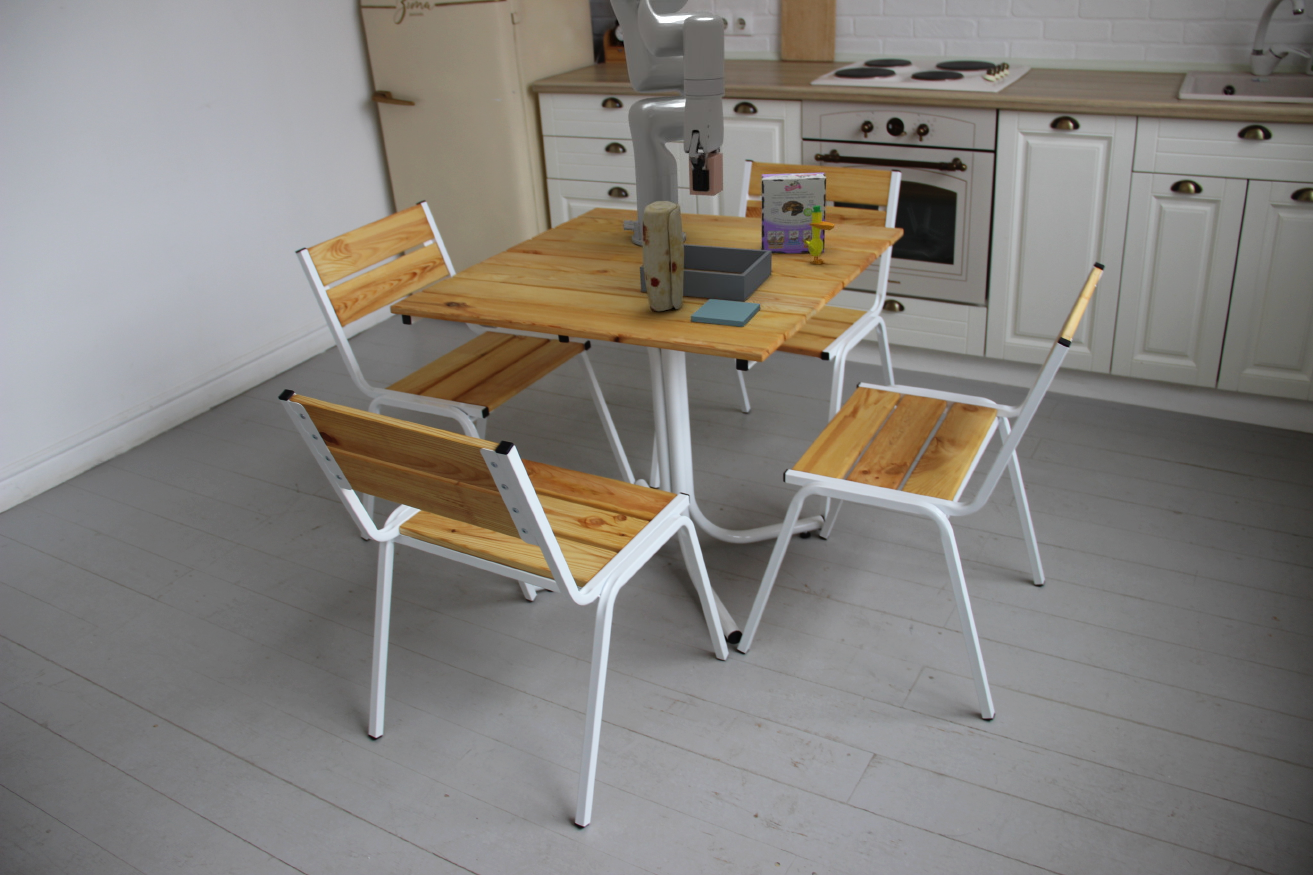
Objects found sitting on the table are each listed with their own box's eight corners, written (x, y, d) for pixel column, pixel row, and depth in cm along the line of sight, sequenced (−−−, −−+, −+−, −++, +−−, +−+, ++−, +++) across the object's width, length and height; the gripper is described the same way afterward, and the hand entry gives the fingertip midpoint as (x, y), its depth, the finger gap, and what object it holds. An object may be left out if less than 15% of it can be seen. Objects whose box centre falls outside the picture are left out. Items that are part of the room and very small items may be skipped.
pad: (690, 321, 177) (690, 316, 177) (709, 303, 185) (709, 298, 185) (743, 326, 173) (743, 321, 173) (760, 308, 181) (760, 303, 181)
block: (689, 194, 187) (688, 157, 183) (698, 189, 191) (698, 152, 188) (714, 196, 185) (713, 158, 182) (723, 190, 189) (722, 153, 186)
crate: (640, 291, 194) (639, 267, 191) (674, 266, 208) (673, 243, 206) (744, 301, 186) (744, 276, 183) (771, 274, 200) (771, 250, 198)
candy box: (822, 246, 217) (825, 171, 210) (824, 253, 212) (827, 177, 204) (760, 247, 218) (761, 173, 211) (760, 254, 213) (761, 178, 206)
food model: (664, 297, 189) (660, 195, 180) (694, 302, 186) (691, 198, 177) (636, 313, 182) (631, 206, 173) (667, 318, 179) (662, 210, 170)
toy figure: (836, 263, 205) (839, 206, 199) (827, 267, 202) (829, 210, 197) (809, 258, 209) (811, 202, 203) (800, 262, 206) (801, 206, 201)
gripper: (701, 82, 188) (703, 177, 196) (668, 94, 174) (671, 196, 182) (738, 82, 185) (738, 179, 193) (707, 95, 171) (709, 198, 179)
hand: (706, 186), depth 187 cm, fingers closed on block, 4 cm apart
